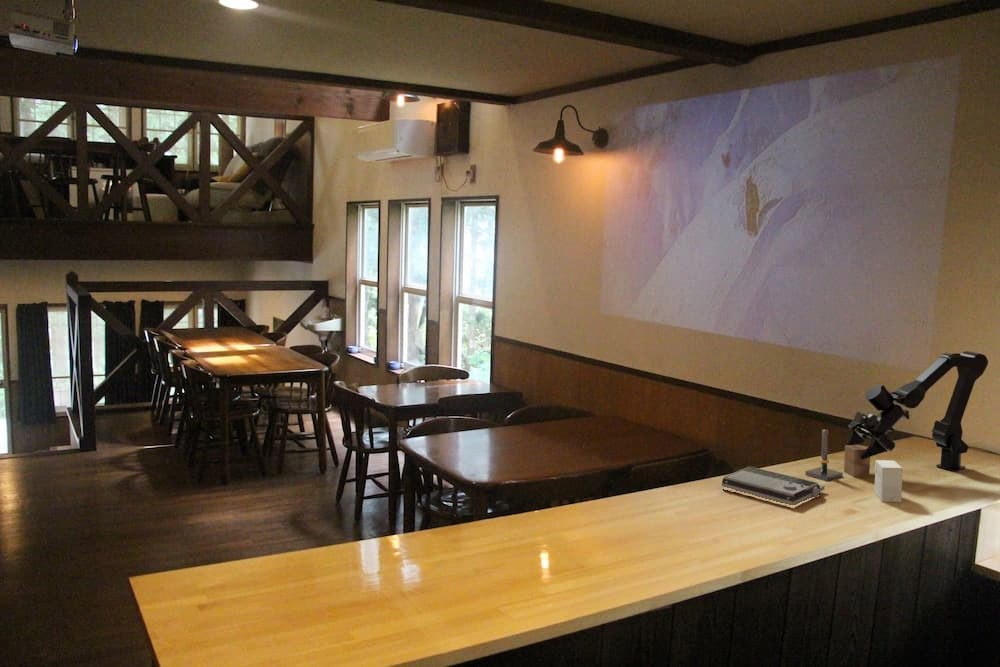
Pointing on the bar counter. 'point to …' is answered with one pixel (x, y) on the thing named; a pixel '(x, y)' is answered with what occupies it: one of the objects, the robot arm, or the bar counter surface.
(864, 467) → the walnut block
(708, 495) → the bar counter surface
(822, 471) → the height gauge
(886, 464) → the small box
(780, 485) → the radio
